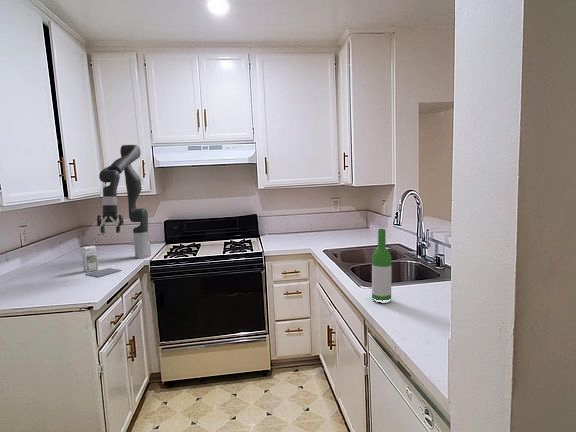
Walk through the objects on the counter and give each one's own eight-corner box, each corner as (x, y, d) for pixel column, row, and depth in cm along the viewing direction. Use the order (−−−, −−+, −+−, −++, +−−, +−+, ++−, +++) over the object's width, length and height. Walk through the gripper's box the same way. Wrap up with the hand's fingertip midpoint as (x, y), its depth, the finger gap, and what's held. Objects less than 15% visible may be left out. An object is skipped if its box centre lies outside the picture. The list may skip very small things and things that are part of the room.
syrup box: (94, 268, 208) (91, 245, 206) (98, 270, 204) (96, 246, 202) (83, 271, 203) (81, 246, 202) (87, 272, 200) (85, 248, 198)
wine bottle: (395, 302, 141) (396, 229, 137) (379, 305, 138) (379, 231, 135) (383, 296, 148) (383, 227, 145) (368, 299, 145) (368, 228, 142)
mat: (108, 268, 207) (108, 267, 207) (121, 270, 201) (121, 269, 201) (85, 274, 195) (85, 273, 195) (98, 277, 189) (98, 276, 189)
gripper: (125, 204, 202) (125, 232, 202) (101, 205, 202) (101, 233, 202) (118, 204, 194) (119, 233, 194) (93, 204, 195) (94, 233, 195)
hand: (110, 233), depth 198 cm, fingers open, 8 cm apart
